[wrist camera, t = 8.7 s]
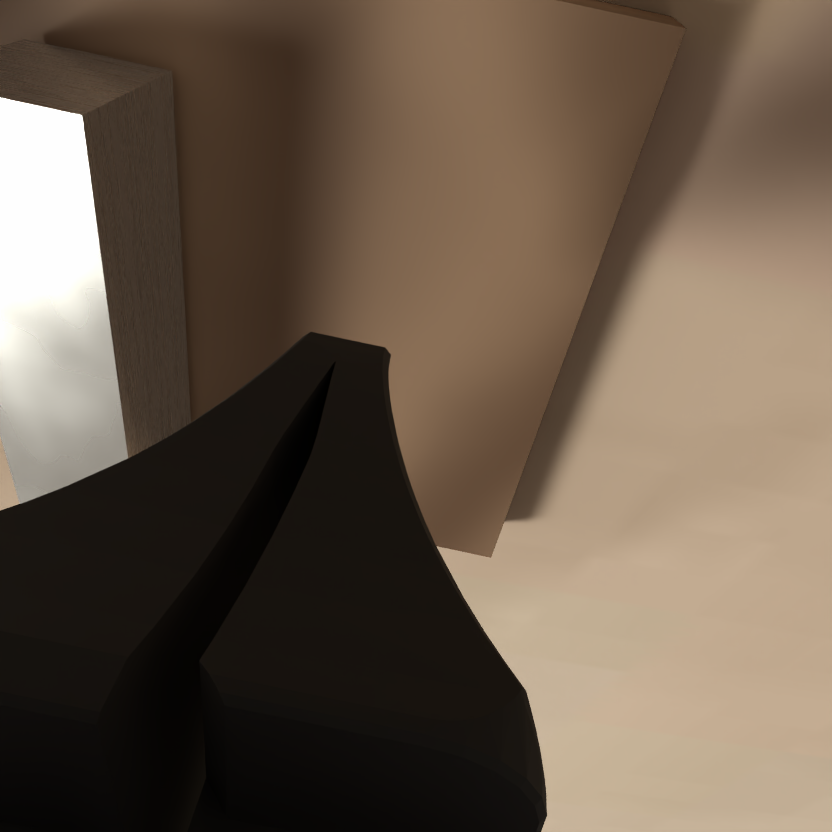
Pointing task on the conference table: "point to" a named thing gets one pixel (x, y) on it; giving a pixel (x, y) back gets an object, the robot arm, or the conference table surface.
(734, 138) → the conference table surface
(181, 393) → the folding leg
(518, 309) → the stool seat
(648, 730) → the conference table surface
